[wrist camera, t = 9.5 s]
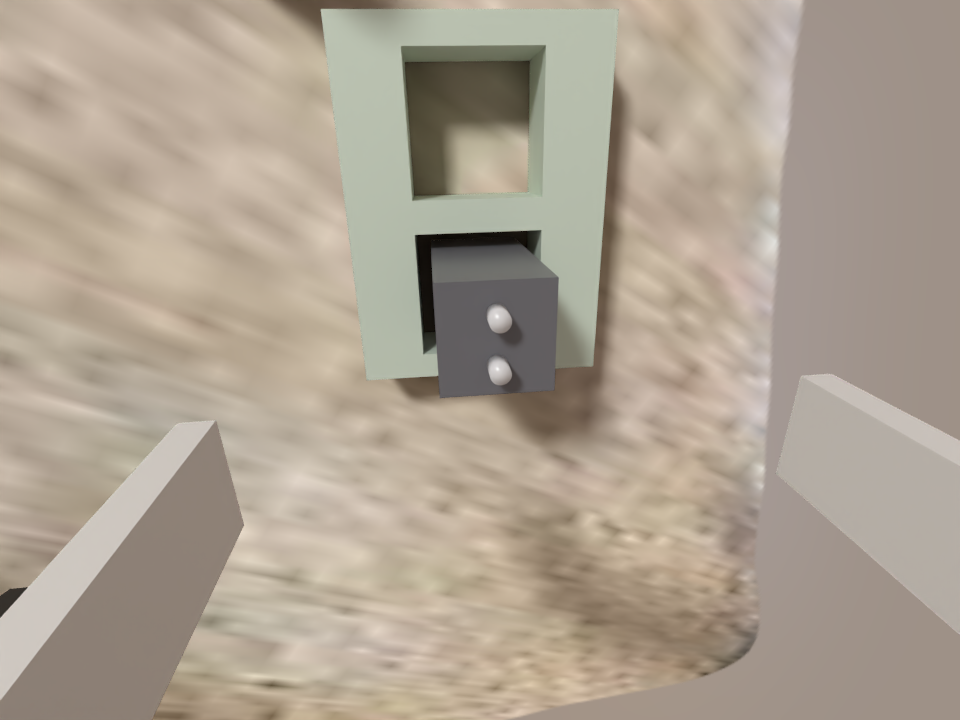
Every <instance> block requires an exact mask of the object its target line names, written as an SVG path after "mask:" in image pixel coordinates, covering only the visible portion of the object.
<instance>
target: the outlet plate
mask: <svg viewBox="0 0 960 720" xmlns="http://www.w3.org/2000/svg"><path fill="white" fill-rule="evenodd" d="M618 13H619V9H321V16H322V24H323V32H324V40H325V48H326V56H327V64H328V72H329V80H330V88H331V96H332V105H333V113H334V121H335V129H336V137H337V145H338V153H339V161H340V169H341V177H342V185H343V193H344V201H345V209H346V217H347V225H348V233H349V241H350V249H351V257H352V265H353V273H354V281H355V289H356V297H357V305H358V314H359V322H360V330H361V338H362V346H363V354H364V362H365V370H366V378H367V380H381V379H397V378H413V377H429V376H438V362H437V346H436V332H424V327H423V313H422V299H421V285H420V271H419V257H418V243H417V235H425V234H451V233H477V232H504V231H527V249H528V250H529V251H530V252H531V253H532V254H533V255H534V256H535V257H537V258H538V259H539V260H540V261H541V262H542V263H543V264H545V265H546V266H547V267H548V268H549V269H550V270H551V271H552V272H554V273H555V274H556V275H557V276H558V277H559V285H558V311H557V336H556V362H555V369H557V368H574V367H590V366H593V361H594V347H595V333H596V319H597V305H598V291H599V277H600V263H601V249H602V235H603V222H604V208H605V194H606V180H607V166H608V152H609V138H610V124H611V110H612V96H613V83H614V69H615V55H616V41H617V27H618ZM461 61H530V86H529V159H528V192H519V193H488V194H456V195H424V196H414V187H413V173H412V159H411V145H410V131H409V117H408V103H407V89H406V75H405V62H461Z"/></svg>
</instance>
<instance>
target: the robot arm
mask: <svg viewBox="0 0 960 720" xmlns="http://www.w3.org/2000/svg"><path fill="white" fill-rule="evenodd" d="M776 474H777V475H778V476H779V477H781V478H782V479H783V480H784V481H785V482H786V483H787V484H789V485H790V486H791V487H792V488H793V489H794V490H795V491H797V492H798V493H799V494H800V495H801V496H802V497H803V498H805V499H806V500H807V501H808V502H809V503H810V504H811V505H812V506H814V507H815V508H816V509H817V510H818V511H819V512H820V513H822V514H823V515H824V516H825V517H826V518H827V519H828V520H829V521H831V522H832V523H833V524H834V525H835V526H836V527H838V528H839V529H840V530H841V531H842V532H843V533H844V534H845V535H847V536H848V537H849V538H850V539H851V540H852V541H853V542H855V543H856V544H857V545H858V546H859V547H860V548H861V549H862V550H864V551H865V552H866V553H867V554H868V555H869V556H870V557H872V558H873V559H874V560H875V561H876V562H877V563H879V564H880V565H881V566H882V567H883V568H884V569H885V570H887V571H888V572H889V573H890V574H891V575H892V576H893V577H894V578H895V579H897V580H898V581H899V582H900V583H901V584H902V585H903V586H905V587H906V588H907V589H908V590H909V591H910V592H911V593H913V594H914V595H915V596H916V597H917V598H918V599H919V600H920V601H922V602H923V603H924V604H925V605H926V606H927V607H928V608H930V609H931V610H932V611H933V612H934V613H935V614H936V615H938V616H939V617H940V618H941V619H942V620H943V621H944V622H946V623H947V624H948V625H949V626H950V627H951V628H952V629H954V630H955V631H956V632H957V633H958V634H959V635H960V441H959V440H957V439H955V438H953V437H951V436H949V435H948V434H946V433H944V432H942V431H940V430H938V429H936V428H934V427H932V426H930V425H928V424H927V423H925V422H923V421H921V420H919V419H917V418H915V417H913V416H911V415H909V414H907V413H905V412H904V411H902V410H900V409H898V408H896V407H894V406H892V405H890V404H888V403H886V402H884V401H882V400H880V399H878V398H876V397H875V396H873V395H871V394H869V393H867V392H865V391H863V390H861V389H859V388H857V387H856V386H854V385H852V384H849V383H848V382H846V381H844V380H842V379H840V378H838V377H836V376H834V375H832V374H821V375H808V376H801V378H800V382H799V386H798V390H797V394H796V398H795V402H794V405H793V409H792V414H791V417H790V421H789V425H788V429H787V433H786V437H785V441H784V445H783V448H782V453H781V456H780V460H779V464H778V468H777V472H776ZM243 526H244V523H243V519H242V516H241V512H240V508H239V504H238V501H237V497H236V493H235V489H234V486H233V482H232V478H231V474H230V471H229V467H228V463H227V459H226V456H225V452H224V448H223V444H222V441H221V437H220V433H219V430H218V426H217V422H216V420H212V421H199V422H186V423H177V424H176V425H175V426H174V427H173V428H172V429H171V430H170V432H169V433H168V434H167V435H166V436H165V437H164V438H163V439H162V440H161V441H160V443H159V444H158V445H157V446H156V447H155V448H154V449H153V450H152V451H151V453H150V454H149V455H148V456H147V457H146V458H145V459H144V460H143V461H142V462H141V464H140V465H139V466H138V467H137V468H136V469H135V470H134V471H133V472H132V473H131V475H130V476H129V477H128V478H127V479H126V480H125V481H124V482H123V483H122V484H121V486H120V487H119V488H118V489H117V490H116V491H115V492H114V493H113V494H112V495H111V497H110V498H109V499H108V500H107V501H106V502H105V503H104V504H103V505H102V506H101V508H100V509H99V510H98V511H97V512H96V513H95V514H94V515H93V516H92V518H91V519H90V520H89V521H88V522H87V523H86V524H85V525H84V526H83V527H82V529H81V530H80V531H79V532H78V533H77V534H76V535H75V536H74V537H73V538H72V540H71V541H70V542H69V543H68V544H67V545H66V546H65V547H64V548H63V549H62V551H61V552H60V553H59V554H58V555H57V556H56V557H55V558H54V559H53V560H52V562H51V563H50V564H49V565H48V566H47V567H46V568H45V569H44V570H43V571H42V573H41V574H40V575H39V576H38V577H37V578H36V579H35V580H34V581H33V583H32V584H31V585H30V586H29V587H26V588H16V589H10V590H8V591H7V592H5V593H4V594H3V595H1V596H0V720H152V719H153V716H154V714H155V712H156V710H157V708H158V706H159V704H160V702H161V700H162V697H163V695H164V693H165V691H166V689H167V687H168V685H169V683H170V681H171V678H172V676H173V674H174V672H175V670H176V668H177V666H178V664H179V661H180V659H181V657H182V655H183V653H184V651H185V649H186V647H187V645H188V642H189V640H190V638H191V636H192V634H193V632H194V630H195V628H196V626H197V623H198V621H199V619H200V617H201V615H202V613H203V611H204V609H205V607H206V604H207V602H208V600H209V598H210V596H211V594H212V592H213V590H214V587H215V585H216V583H217V581H218V579H219V577H220V575H221V573H222V571H223V568H224V566H225V564H226V562H227V560H228V558H229V556H230V554H231V552H232V549H233V547H234V545H235V543H236V541H237V539H238V537H239V535H240V533H241V530H242V528H243Z"/></svg>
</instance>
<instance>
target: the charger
mask: <svg viewBox="0 0 960 720" xmlns="http://www.w3.org/2000/svg"><path fill="white" fill-rule="evenodd" d="M431 258H432V280H433V297H434V313H435V329H436V346H437V362H438V378H439V394H440V398H447V397H462V396H477V395H492V394H507V393H522V392H537V391H552V390H554V388H555V362H556V336H557V311H558V285H559V277H558V276H557V275H556V274H555V273H554V272H552V271H551V270H550V269H549V268H548V267H547V266H546V265H545V264H543V263H542V262H541V261H540V260H539V259H538V258H537V257H535V256H534V255H533V254H532V253H531V252H530V251H529V250H528V249H526V248H525V247H524V246H523V245H522V244H521V243H520V242H518V241H517V240H516V239H515V238H514V237H496V238H470V239H445V240H431Z"/></svg>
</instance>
